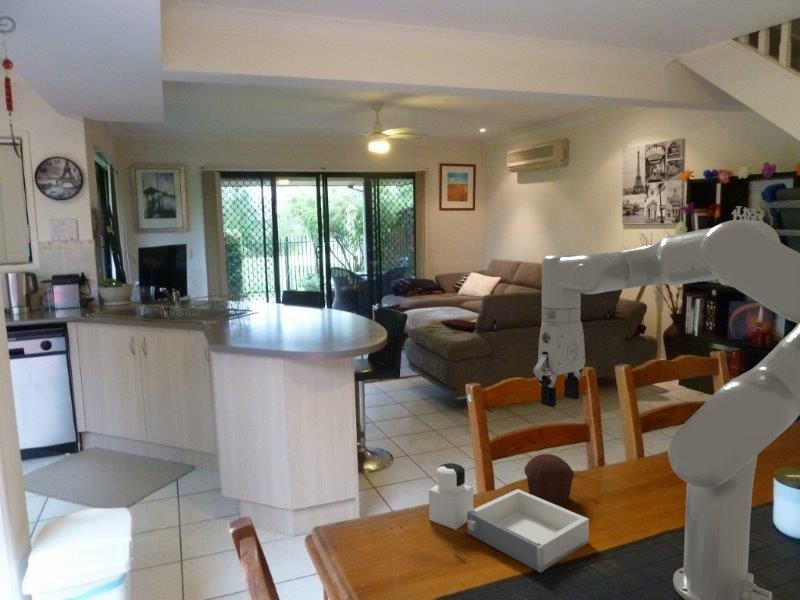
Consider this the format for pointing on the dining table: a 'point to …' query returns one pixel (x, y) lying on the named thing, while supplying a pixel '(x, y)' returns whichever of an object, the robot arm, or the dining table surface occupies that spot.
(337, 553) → the dining table surface
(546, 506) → the case
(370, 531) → the dining table surface
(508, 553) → the side door
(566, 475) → the muffin
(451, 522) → the medicine bottle
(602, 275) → the robot arm
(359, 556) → the dining table surface
